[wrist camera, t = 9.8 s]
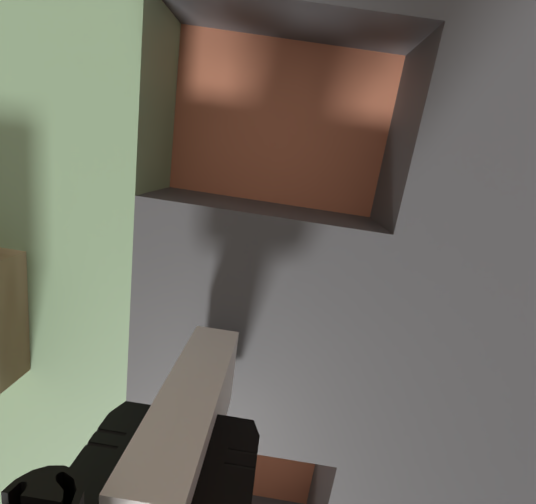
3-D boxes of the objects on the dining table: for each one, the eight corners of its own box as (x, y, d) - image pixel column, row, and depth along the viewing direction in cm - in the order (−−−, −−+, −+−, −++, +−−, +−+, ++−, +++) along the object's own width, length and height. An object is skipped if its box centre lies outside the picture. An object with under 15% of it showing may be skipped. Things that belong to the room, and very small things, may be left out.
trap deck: (775, 66, 14) (968, 30, 10) (542, 559, 20) (601, 652, 17) (-84, -54, 14) (-222, -133, 10) (-32, 463, 21) (-104, 531, 17)
